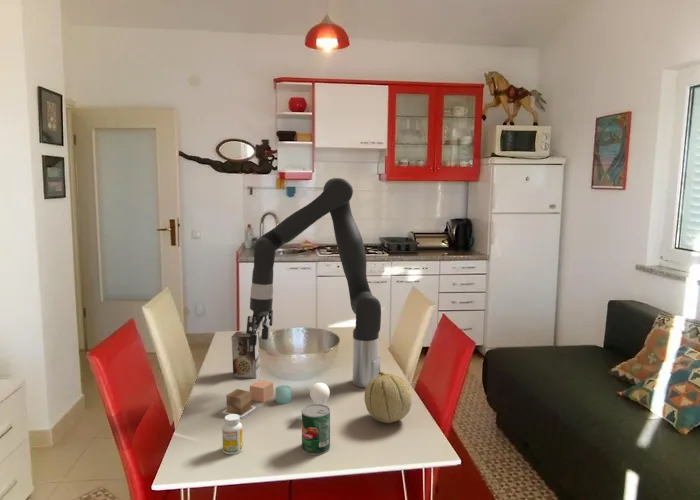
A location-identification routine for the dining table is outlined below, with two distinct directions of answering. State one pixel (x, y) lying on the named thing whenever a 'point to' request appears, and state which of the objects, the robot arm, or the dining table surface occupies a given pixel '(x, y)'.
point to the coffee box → (245, 356)
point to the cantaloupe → (388, 398)
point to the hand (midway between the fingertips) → (259, 342)
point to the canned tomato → (315, 429)
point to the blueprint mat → (244, 415)
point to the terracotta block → (261, 390)
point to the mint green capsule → (283, 394)
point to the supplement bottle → (232, 434)
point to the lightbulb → (319, 393)
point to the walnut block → (238, 401)
